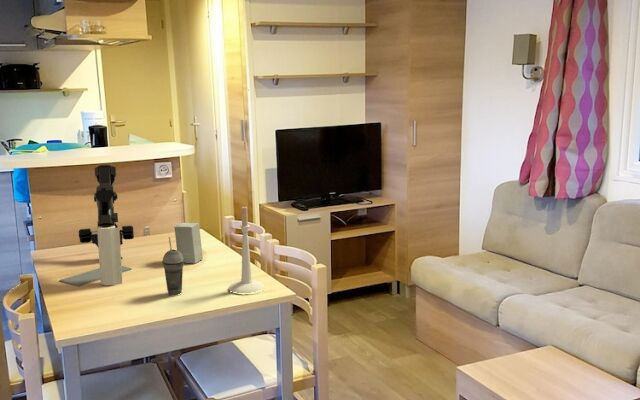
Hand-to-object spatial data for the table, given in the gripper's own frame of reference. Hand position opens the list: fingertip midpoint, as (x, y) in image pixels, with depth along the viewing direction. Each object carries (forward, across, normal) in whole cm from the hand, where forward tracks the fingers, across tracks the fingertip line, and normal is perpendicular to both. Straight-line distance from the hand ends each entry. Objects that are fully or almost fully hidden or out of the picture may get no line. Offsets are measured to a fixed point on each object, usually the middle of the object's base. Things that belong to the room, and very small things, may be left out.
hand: (107, 254), depth 213 cm
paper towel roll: (+7, 0, +9) cm, 12 cm away
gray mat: (-2, -5, +18) cm, 19 cm away
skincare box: (-7, +30, +23) cm, 39 cm away
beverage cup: (+20, +22, -4) cm, 30 cm away
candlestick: (+23, +46, -6) cm, 52 cm away
